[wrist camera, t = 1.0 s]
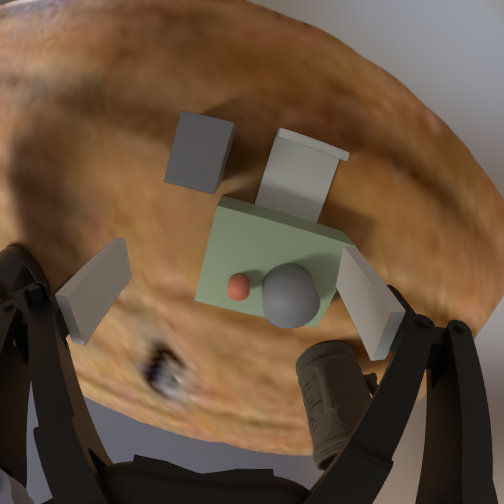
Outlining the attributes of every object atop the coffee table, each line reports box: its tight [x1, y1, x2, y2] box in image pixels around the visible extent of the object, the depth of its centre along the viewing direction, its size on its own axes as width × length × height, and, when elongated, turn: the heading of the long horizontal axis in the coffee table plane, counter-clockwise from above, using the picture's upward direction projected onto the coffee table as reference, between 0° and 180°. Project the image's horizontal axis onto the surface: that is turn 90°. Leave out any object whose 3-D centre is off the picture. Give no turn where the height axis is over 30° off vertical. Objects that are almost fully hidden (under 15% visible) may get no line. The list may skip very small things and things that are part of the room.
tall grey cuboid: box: [164, 111, 237, 194], centre depth 27 cm, size 5×7×7 cm
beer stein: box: [296, 341, 378, 471], centre depth 35 cm, size 15×11×20 cm
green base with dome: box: [195, 128, 357, 329], centre depth 29 cm, size 16×22×9 cm
